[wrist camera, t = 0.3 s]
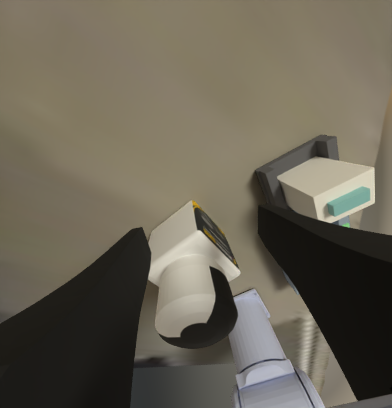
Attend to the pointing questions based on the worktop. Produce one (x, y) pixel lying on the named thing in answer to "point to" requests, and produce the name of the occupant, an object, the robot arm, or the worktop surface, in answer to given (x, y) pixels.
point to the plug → (328, 188)
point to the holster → (270, 171)
